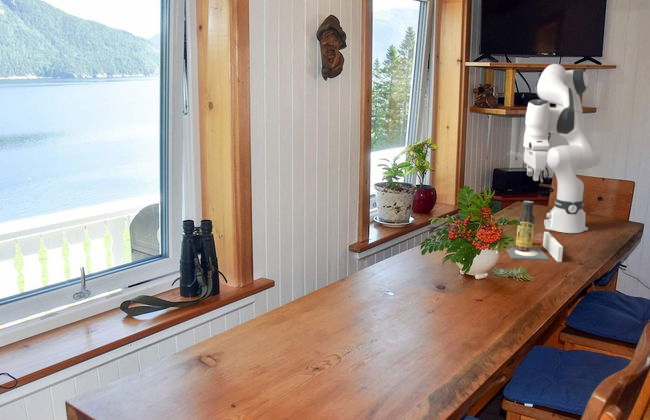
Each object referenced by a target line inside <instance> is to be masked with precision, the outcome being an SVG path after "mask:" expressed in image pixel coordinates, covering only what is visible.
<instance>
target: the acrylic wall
mask: <svg viewBox="0 0 650 420" xmlns="http://www.w3.org/2000/svg"><path fill="white" fill-rule="evenodd" d="M542 246H543V247H544V249H545V250H546V251H547V252H548V253H549V254H550V255H551V256H552V258H553V259H554V260H555V261H556V262H557V263H562V261H563V252H564V247H563V245H561V243H560V242H558V241H557V239H556V238H555V237H554V236H553V235H552V234H551V233H550V232H549V231H543V241H542Z"/></svg>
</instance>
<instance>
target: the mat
mask: <svg viewBox="0 0 650 420" xmlns="http://www.w3.org/2000/svg"><path fill="white" fill-rule="evenodd" d="M511 247H512V248H510V249H507V250H506V249H505V251H506V253H508V255H509V257H510V258H511V259H512V260H530V261H531V260H532V261H533V260H534V261H550V258H548V256H547V255H546V253H545V252H544V251H543V250H542V248H541V247H531V250H529V251H522V250H518V249H516V246H515V247H513V246H511Z"/></svg>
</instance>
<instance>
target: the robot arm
mask: <svg viewBox="0 0 650 420" xmlns="http://www.w3.org/2000/svg"><path fill="white" fill-rule="evenodd" d="M588 87H589V76H588V74H587V72H586V71H585V70H584V69H583V68H574V69H569V70H566V69H565V67H564V66H563V65H561V64H558V63H552V64H549V65H548V66H546V67H545V68H544V70H543V71H542V72H541V74H540V77H539V78H538V79H536V82H535V87H534V88H535V93H536V96H537V98H538V99H532V100H530V101H528V103H527V107H526V112H525V113H524V117H523V118H524V119H523V125H524V128H525V131H524V134H523V135H524V136H523V144H522V145H523V147H524V153H523V163H524V164H526V169H527V170H526V175H527V176H528V177H532V180H533V181H534V182H536V181H537V182H538V181H539V177H540V174H541V171H545V169H546V166H547V167H549V168H550V169H551V170H552V171H553V172H554V175H555V177H556V182H557V183H556V184H557V185H556V187H557V188H556V189H557V191H556V198H555V199H554V205H553V207H552V209H550V210H549V212H546V218H547V219H544V220H543V224H544V229H545V230H549V231H554V232H559V233H567V234H578V233H579V234H580V233H583V232H585V231H586V232H587V231H588V230H589V227H587V226H586V212H585V211H584V199H583V198H584V189H585V184H584V182H583V180H582V179H580V178H579V177H577V174H576V170H587V169H591V168H595V167H597V166H599V164H600V163H601V159H602V152H601V150H600V148H599V147H598V146H597V145H595V144H594V143H593V142H592V141H591V140H590V138H589V136H588V134H587V131H586V128H585V123H584V114H583V106H582V102H581V98H580V97H582V96H583V93H585V92H586V91H587V89H588ZM550 104H555V107H551V106H550ZM549 133H553V134H558V135H560V136H561V137H563V138H564V139H565V140H566V142H567V143H568V144H566V145H565V144H564V145H563V144H562V145H556V146H553V147H551V148H550V143H549Z"/></svg>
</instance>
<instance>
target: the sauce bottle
mask: <svg viewBox="0 0 650 420" xmlns="http://www.w3.org/2000/svg"><path fill="white" fill-rule="evenodd" d="M534 205H535V204H534V201H531V200H523V202H522V206H523V207H522V212H521V213H520V215H519V217H518V222H520V225H518V224H517V230H516V237H515V238H516V239H515V247H516V249H518V250H522V251H529V250H531V248H533V247H532V246H533V237H534V229H535V219H536V218H535V216H534V213H533V209H534Z"/></svg>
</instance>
